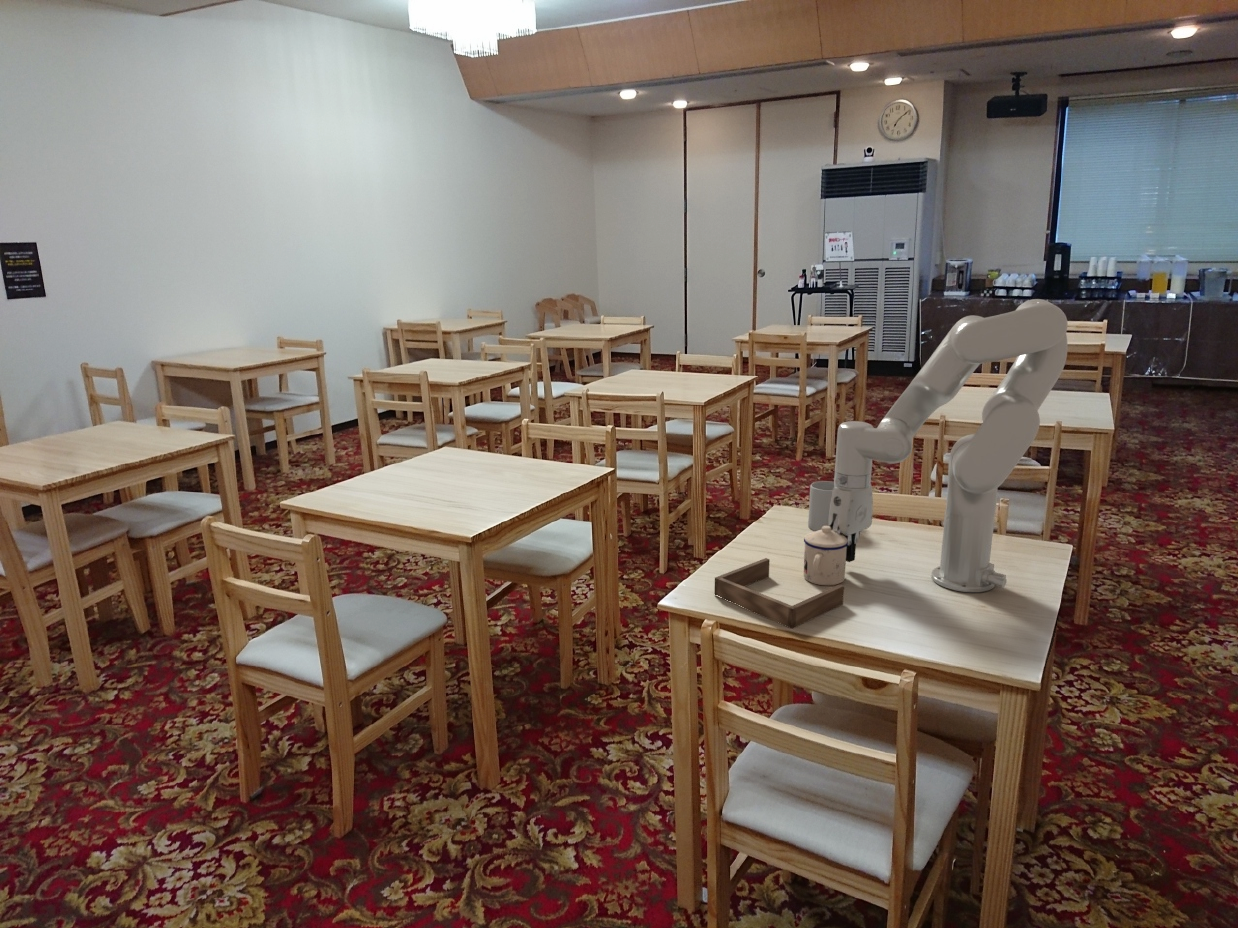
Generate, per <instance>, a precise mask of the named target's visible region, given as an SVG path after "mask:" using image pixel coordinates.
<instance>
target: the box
mask: <svg viewBox="0 0 1238 928" xmlns="http://www.w3.org/2000/svg"><path fill="white" fill-rule="evenodd" d="M766 577H767V578H769V577H770V558H767V557H765V558H762V559H760V560H757V561H754V562H752V563H749V564H747V565H744V566H741V567H739V568H736V569H734V570H732V571H728V572H727V573H723V574H721V575H719V576H716V577H714V594H715V595H718V596H720V597H722V598H724V599H726V600H728V601H731V602H733V603H736V604H738V605H740V606H742V607H744V608H743V609H745V608H746V609H745V610H747V609H748V610H747V611H749V610H750V611H749V612H752V613H754V612H755V614H756V613H757V615H759V616H762V617H763V616H764V617H763V618H767V619H768V620H771V619H772V620H771V621H773V620H774V622H775V621H776V623H778V622H779V623H778V624H780V623H781V624H780V625H782V624H783V626H785V625H786V626H785V627H787V626H788V627H787V628H789V627H790V629H794V627H795V628H797V627H799V626H801V625H803V624H805V623H807V622H809V621H811V620H813V619H816V618H818V617H820V616H821V615H824V614H826V613H828V612H830V611H832V610H835V609H837V608H839V607H840V606H843V605H844V594H845V593H844V592H845V591H844V590H845V585H842V584H837V585H834V586H833V587H831V588H829V589H826V590H825V591H822V592H820V593H817V594H816V595H814V596H811V597H809V598H807V599H805V600H803V601H800V602H798V603H795V604H793V605H791V604H789V603H787V602H784V601H781V600H779V599H776V598H774V597H770V596H769V595H766V594H763V593H761V592H758V591H756V590H754V589H751V588H748V587H747V586H749V585H751V584H752V585H753V584H754V583H757V582H759V581H761V580H764V579H767V578H766ZM744 586H745V587H744ZM714 594H713V595H714ZM726 600H725V601H726ZM728 601H727V602H728ZM733 603H732V604H733ZM738 605H737V606H738ZM740 606H739V607H740ZM742 607H741V608H742ZM804 622H805V623H804ZM800 624H801V625H800ZM798 625H799V626H798ZM796 626H797V627H796Z"/></svg>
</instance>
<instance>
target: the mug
mask: <svg viewBox="0 0 1238 928" xmlns="http://www.w3.org/2000/svg"><path fill="white" fill-rule="evenodd" d="M809 487H810V488H809V504H808V505H809V507H808V508H809V510H808V521H807V526H808V528H809V529H810V530H811V531H812V532H814V531H818V530H822V527H823V526H829V510H830V503H831V497H832V492H833V488H834V481H830V480H829V481H827V480H819V481H815V482H812V483H811V484H810V485H809Z"/></svg>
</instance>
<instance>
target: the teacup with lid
mask: <svg viewBox="0 0 1238 928" xmlns="http://www.w3.org/2000/svg"><path fill="white" fill-rule="evenodd" d="M803 542H804V553H803V555H804V556H803V559H804V560H803V577H804V580H806V581H808V582H809V583H812V584H815V585H819V586H837V585H840V584H841V583H843V582H844V581H845V579H846V578H845V577H846V564H847V563H846V562H847V561H846V548H847V545H848V541H847V538H846V537H845V536H843V535H842V534H838V533H836V532H834V531H832V530H831V527H830V526H823V527H822V530H818V531H811V532H809V533H807V534H805V536H804V538H803Z"/></svg>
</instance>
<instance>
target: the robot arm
mask: <svg viewBox="0 0 1238 928" xmlns="http://www.w3.org/2000/svg"><path fill="white" fill-rule="evenodd" d="M1068 326H1069V325H1068V319H1067V315H1066V313H1064V311H1063V310H1062V309H1061V308H1060V307H1059V306H1058V305H1056V304H1053V303H1051V301H1048V300H1045V299H1040V298H1036V299H1029V300H1026V301H1024V302H1022V303H1021V304H1020V305H1018V307H1017V308H1016V309H1015V310H1013V311H1008V312H1005V313H1000V314H997V315H992V316H987V317H983V316H979V315H973V314H972V315H966V316H964V317H962V318H961V319H959V320H958V321H956V323H955V324H954V325H952V327H951V329H950V330H949V331H948V332H947V334H946V335H945V337H944V338H943V339H942V341H941V342H940V344H939V345H938V346H937V347H936V349H935V350H934V351H933V353H932V354H931V356H929V359H928V360H927V361H926V362H925V364H923V366H922V367H921V369H920V370H919V371H918V373H917V374H916V375H915V377H914V378H913V379H912V381H910V384H908V386H907V387H906V388H905V390H904V391H903V392H902V394H900V396H899V397H898V398H897V400H896V401H895V402H894V403H893V405H892V406H891V408H890V409H889V410H888V412H887V413H886V414H885V415H884V416H883V418H882V420H881V421H880V422H879V424H878V426H877V427H875V428H874V426H873V425H872V424H870V423H868V422H867V421H866V422H865V421H858V420H849V421H844V422H842V423H840V424H839V426H838V428H837V436H836V450H835V451H836V452H835V464H834V480H833V482H834V488H833V492H832V497H831V503H830V510H829V526H830V527H831V530H832V531H834V532H836V533H838V534H842V535H843V536H845V537H846V538H847V541H848V545H847V548H846V562H848V563H851V562H853V561H855V558H856V549H857V548H856V547H857V543H858V541H859V535H860V534H861V532H863V531H865V530H867V529H868V528H870V527H871V526H872V523H873V512H874V510H873V509H874V499H873V485H872V483H871V480H872V468H873V460H874V461H878V462H883V463H887V464H897V463H902V462H904V461H905V460H907V459H908V458H909V456H911V453H912V451H913V438H914V437H915V435H916V434H917V433H918V432H919V430H920V428H921V427H922V426H923V425H924V424H925V423H926V421H928V419H929V418H930V417H931V415H932V414H933V413H934V412H935V411H937V410H938V409H939V408H940V407H942V406H944V405H947V404H948V403H949V402H951V401H952V400H953V399H954V398H955V397H956V396H957V394H958V393H959V392H960V390H961V389H962V388H963V386H964V385H965V384H966V382H967V381H968V380H969V379H970V377H971V376H972V374H973V373H974V372H975V371H976V369H977V368H978V367H979V366H980V365H981V364H988V363H993V362H999V361H1003V360H1009V359H1012V358H1015V360H1014V362H1013V363H1012V365H1011V367H1010V368H1009V370H1008V371H1007V374H1006V375H1005V376H1004V378H1003V379H1002V380H1001V382H1000V383H999V385H998V386H997V388H996V389H995V391H994V392H993V394H991V396H990V397H989V399H987V401H986V403H985V404H984V406H983V408H982V412H981V420H982V423H981V424H980V426H979V428H978V429H977V430H976V432H975V433H971V434H967V435H964V436H962V437H960V438H959V439H958V440H957V441H956V442H955V443H954V444H953V446H952V447H951V451H950V453H949V459H948V471H947V472H948V476H947V478H948V479H947V490H946V493H947V494H946V502H945V503H946V505H945V511H944V512H945V513H944V521H943V534H942V542H941V543H942V544H941V553H940V564H939V566H937V567H935V568H933V569H932V571H931V579H932V581H934V583H935V584H937V585H939V586H941V587H943V588H946V589H948V590H952V591H956V592H957V591H958V592H963V593H983V592H988V591H991V590H993V588H995V587H996V586H997V587H999V588H1000V587H1001V588H1005V587H1006V585H1007V579H1006V578H1007V575H1006V574H1004V573H999V572H996V571H995V564H994V563H991V562H990V561H991V552H992V545H993V535H994V527H995V517H996V509H997V500H998V488H999V487H1000V486H1002V484H1004V482H1005V480H1006V479H1007V478H1008V477H1009V476H1010V475H1011V473H1012V472H1013V470H1014V469H1015V468H1016V466H1017V465H1018V463H1019V462H1020V460H1021V459H1022V458H1023V457H1024V455H1025V454H1026V452H1027V451H1028V449H1029V448H1030V447H1031V446H1032V444H1033V442H1034V441H1035V438H1036V437H1037V435H1038V433H1039V429H1040V424H1041V419H1040V413H1039V412H1038V411H1039V409H1040V407H1041V406H1042V404H1043V403H1044V402H1045V400H1046V399H1047V397H1048V396H1049V394H1050V393H1051V391H1052V389H1053V387H1055V385H1056V383H1057V381H1058V379H1059V378H1060V376H1061V375H1062V372H1063V370H1064V367H1065V365H1066V362H1067V356H1068V348H1069V347H1068V336H1067V332H1068Z"/></svg>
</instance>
